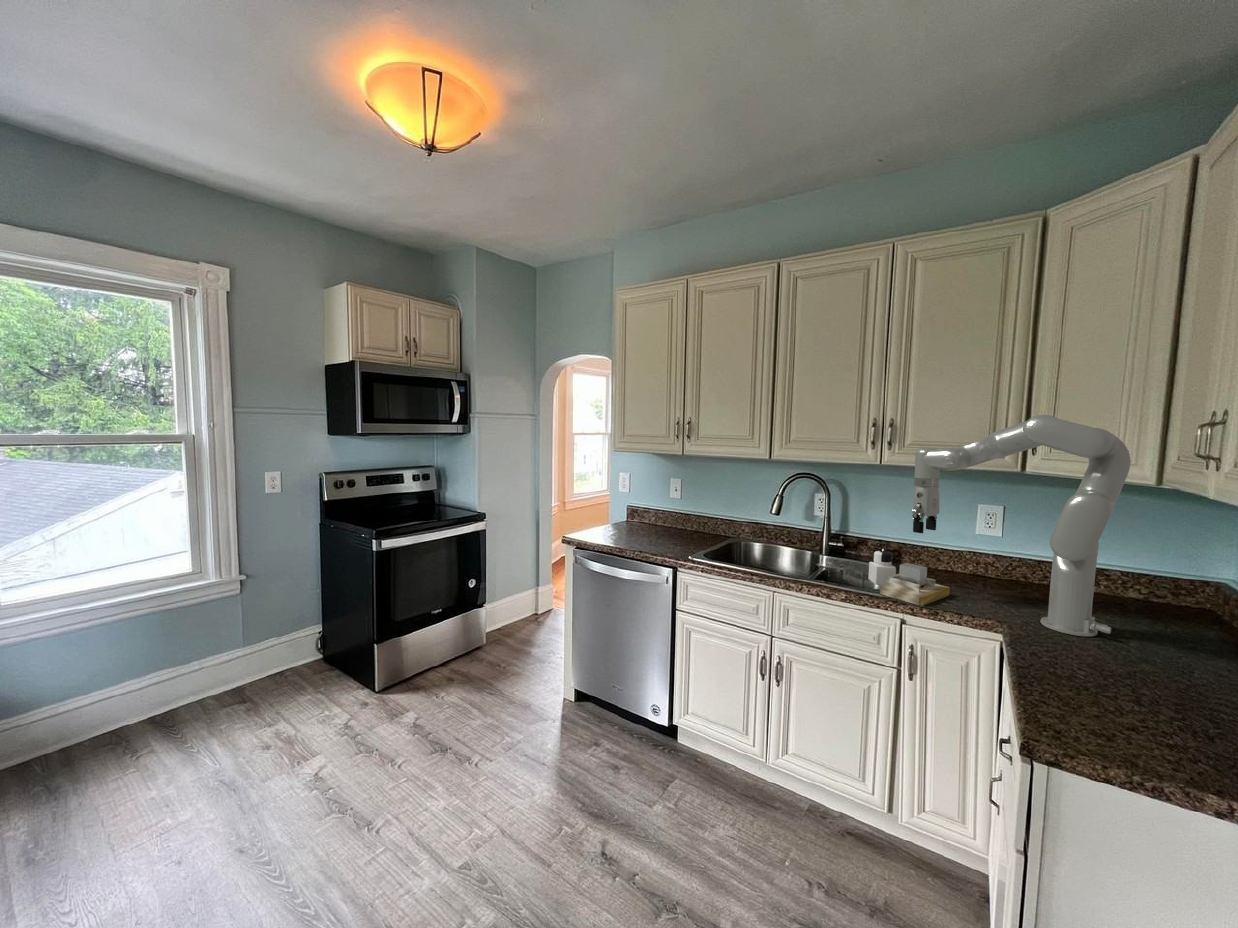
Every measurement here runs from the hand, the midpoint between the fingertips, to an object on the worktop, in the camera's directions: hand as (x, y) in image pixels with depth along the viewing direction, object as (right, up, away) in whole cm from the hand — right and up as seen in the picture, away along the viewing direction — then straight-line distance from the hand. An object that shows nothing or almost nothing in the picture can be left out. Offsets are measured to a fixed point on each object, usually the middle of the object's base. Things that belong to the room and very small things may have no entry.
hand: (924, 531), depth 176 cm
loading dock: (-3, -23, +1) cm, 23 cm away
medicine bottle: (-8, -22, +15) cm, 28 cm away
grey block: (-4, -20, +1) cm, 20 cm away
